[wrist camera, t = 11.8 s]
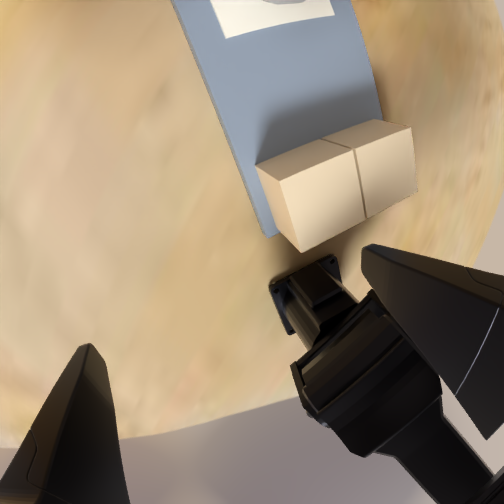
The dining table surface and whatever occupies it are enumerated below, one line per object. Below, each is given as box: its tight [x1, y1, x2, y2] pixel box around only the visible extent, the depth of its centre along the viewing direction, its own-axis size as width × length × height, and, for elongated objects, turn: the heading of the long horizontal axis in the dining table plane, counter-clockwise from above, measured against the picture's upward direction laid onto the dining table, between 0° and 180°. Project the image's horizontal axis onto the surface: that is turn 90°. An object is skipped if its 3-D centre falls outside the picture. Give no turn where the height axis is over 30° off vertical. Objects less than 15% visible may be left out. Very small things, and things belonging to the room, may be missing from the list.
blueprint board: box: [171, 0, 418, 253], centre depth 16 cm, size 22×12×5 cm, turn 20°
